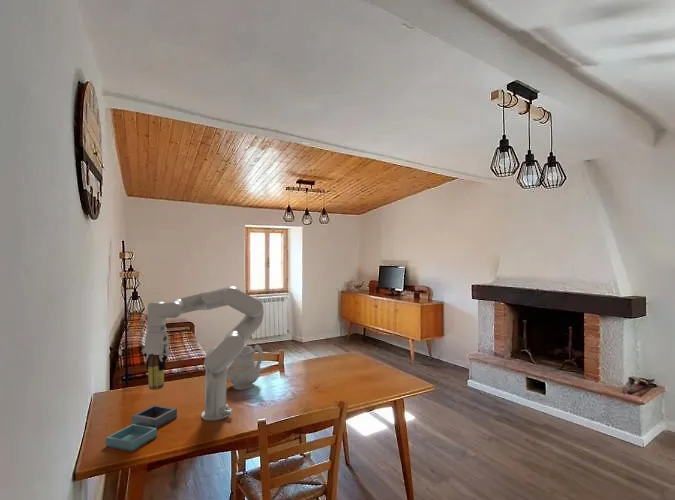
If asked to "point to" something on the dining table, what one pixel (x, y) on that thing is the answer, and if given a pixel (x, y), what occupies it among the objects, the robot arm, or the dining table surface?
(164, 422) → the steel collar
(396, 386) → the dining table surface
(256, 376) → the ceramic pitcher
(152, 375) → the sauce bottle
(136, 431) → the teal tray
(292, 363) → the dining table surface
